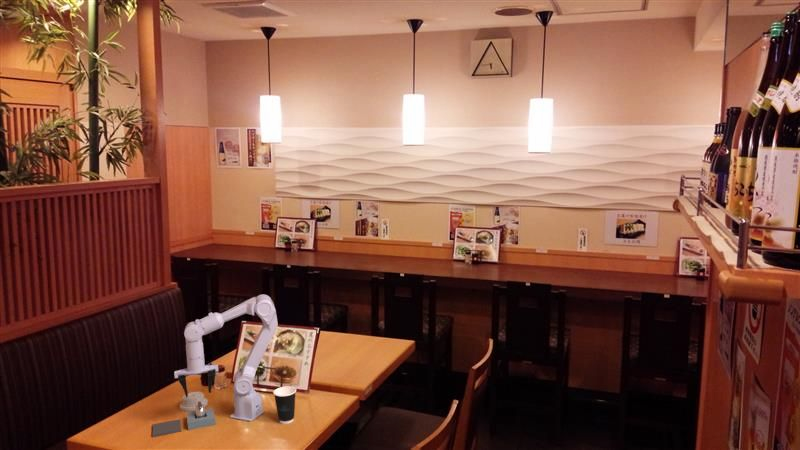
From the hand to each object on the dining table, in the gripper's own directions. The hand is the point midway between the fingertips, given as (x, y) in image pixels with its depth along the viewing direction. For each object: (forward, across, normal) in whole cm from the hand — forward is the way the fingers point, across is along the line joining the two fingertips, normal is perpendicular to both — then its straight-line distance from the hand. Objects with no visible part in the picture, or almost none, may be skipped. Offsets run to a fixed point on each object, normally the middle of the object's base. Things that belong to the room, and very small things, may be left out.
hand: (198, 393), depth 208 cm
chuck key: (+10, 0, 0) cm, 10 cm away
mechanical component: (+11, +2, -16) cm, 19 cm away
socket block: (+10, 0, 0) cm, 10 cm away
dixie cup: (+10, -28, +13) cm, 33 cm away
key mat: (+10, +11, 0) cm, 15 cm away
